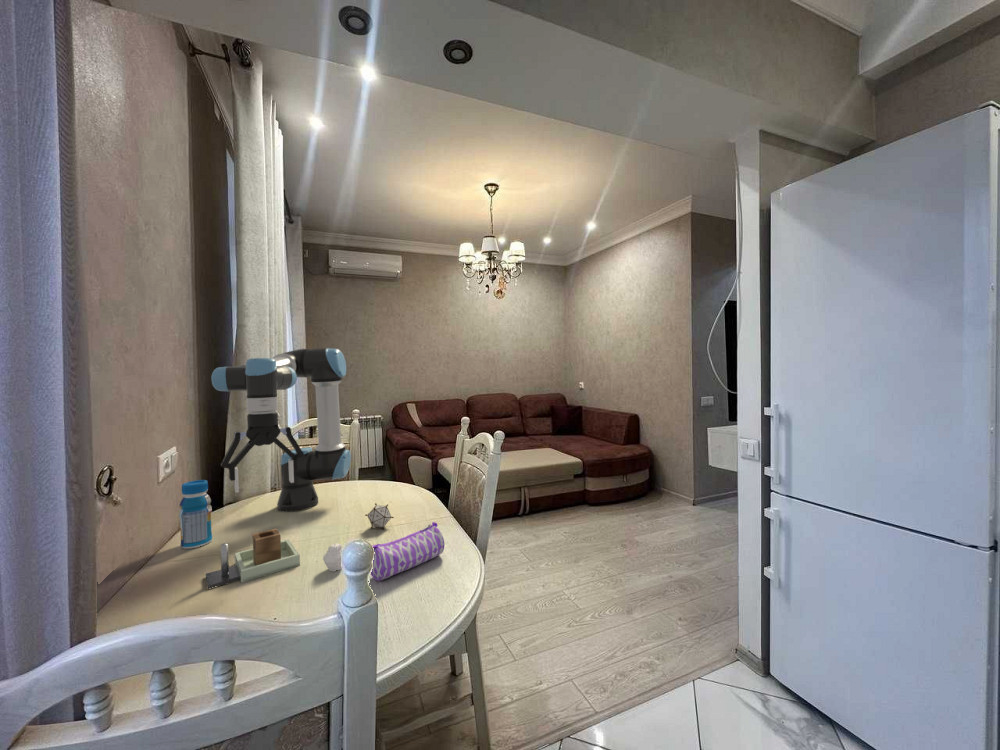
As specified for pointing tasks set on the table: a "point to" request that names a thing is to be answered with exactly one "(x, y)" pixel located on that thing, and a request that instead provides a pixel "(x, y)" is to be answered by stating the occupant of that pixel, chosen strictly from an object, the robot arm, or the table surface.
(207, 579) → the pin
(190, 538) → the beverage bottle
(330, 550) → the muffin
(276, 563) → the tray
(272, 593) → the table surface
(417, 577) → the table surface
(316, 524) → the table surface
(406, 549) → the pencil case
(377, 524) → the game die
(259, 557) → the bore block
